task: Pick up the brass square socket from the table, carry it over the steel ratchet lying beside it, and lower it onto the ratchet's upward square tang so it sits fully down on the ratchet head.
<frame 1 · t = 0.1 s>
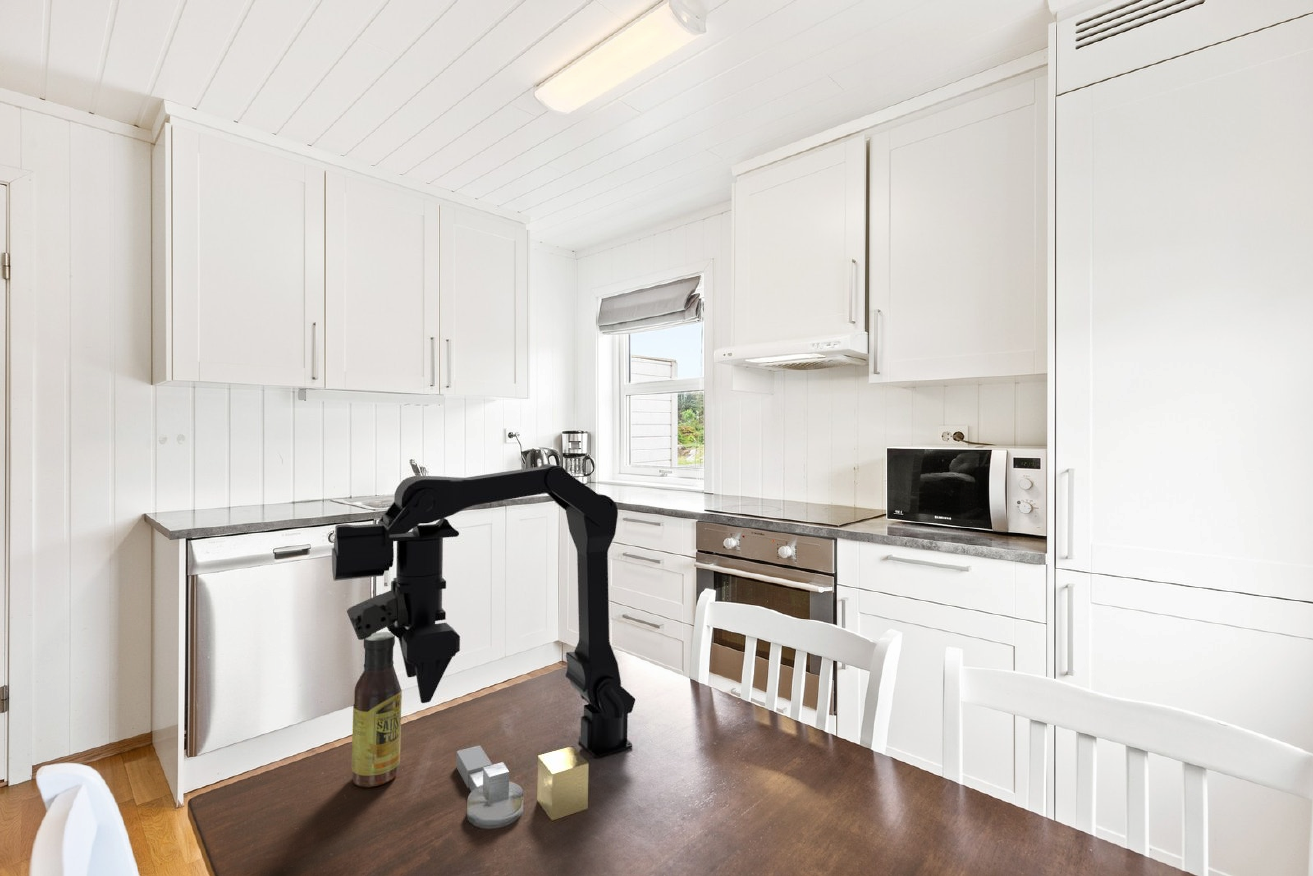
hand: (418, 688, 83), 15 cm above the table, tool pointing down, fingers open, 9 cm apart
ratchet: (495, 811, 81), on the table
socket: (562, 804, 83), on the table
sauce bottle: (376, 778, 88), on the table
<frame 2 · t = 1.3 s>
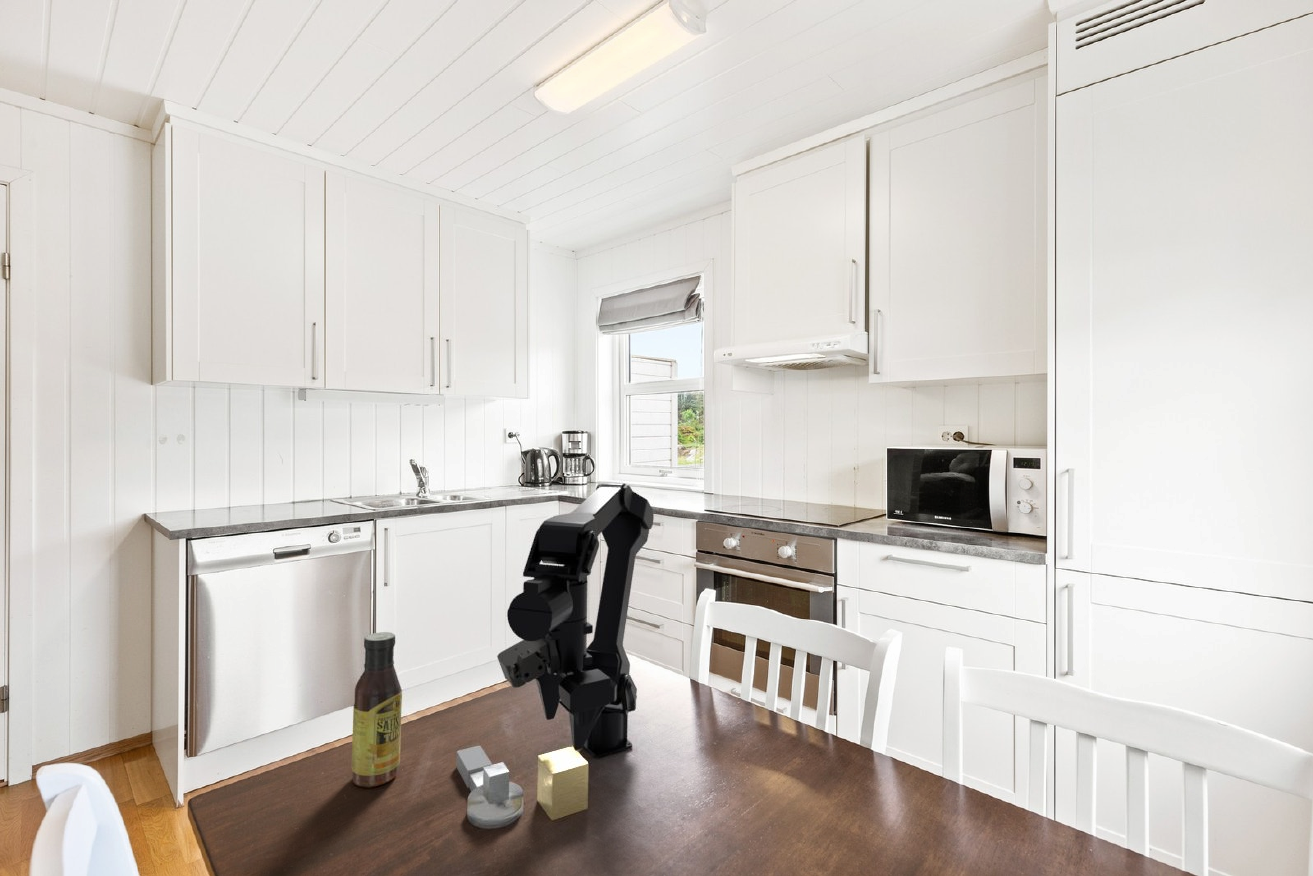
hand: (563, 733, 83), 9 cm above the table, tool pointing down, fingers open, 9 cm apart
nothing on the table moved.
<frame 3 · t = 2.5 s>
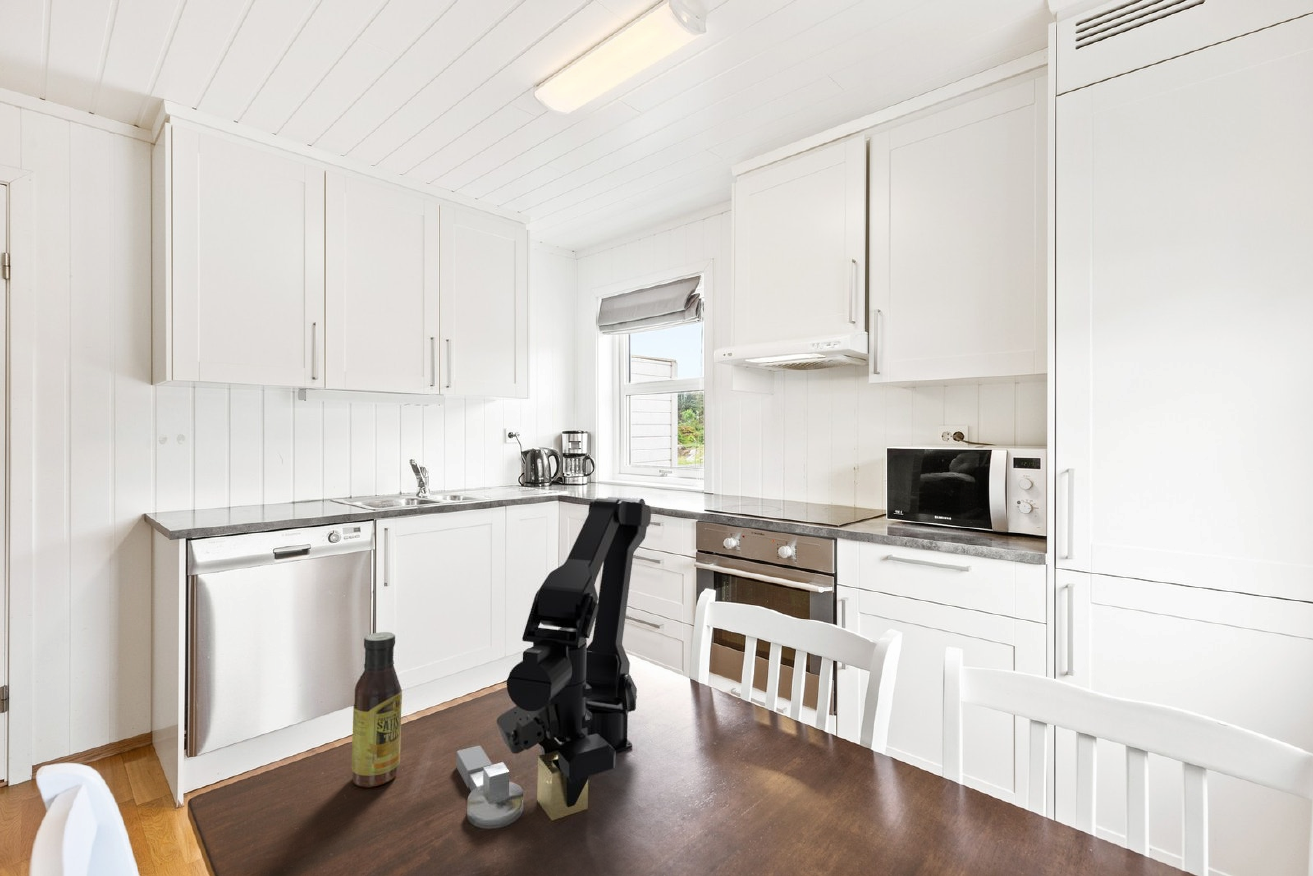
hand: (562, 795, 83), 1 cm above the table, tool pointing down, fingers closed on socket, 5 cm apart
socket: (562, 804, 83), on the table, touching gripper
everything else where it was.
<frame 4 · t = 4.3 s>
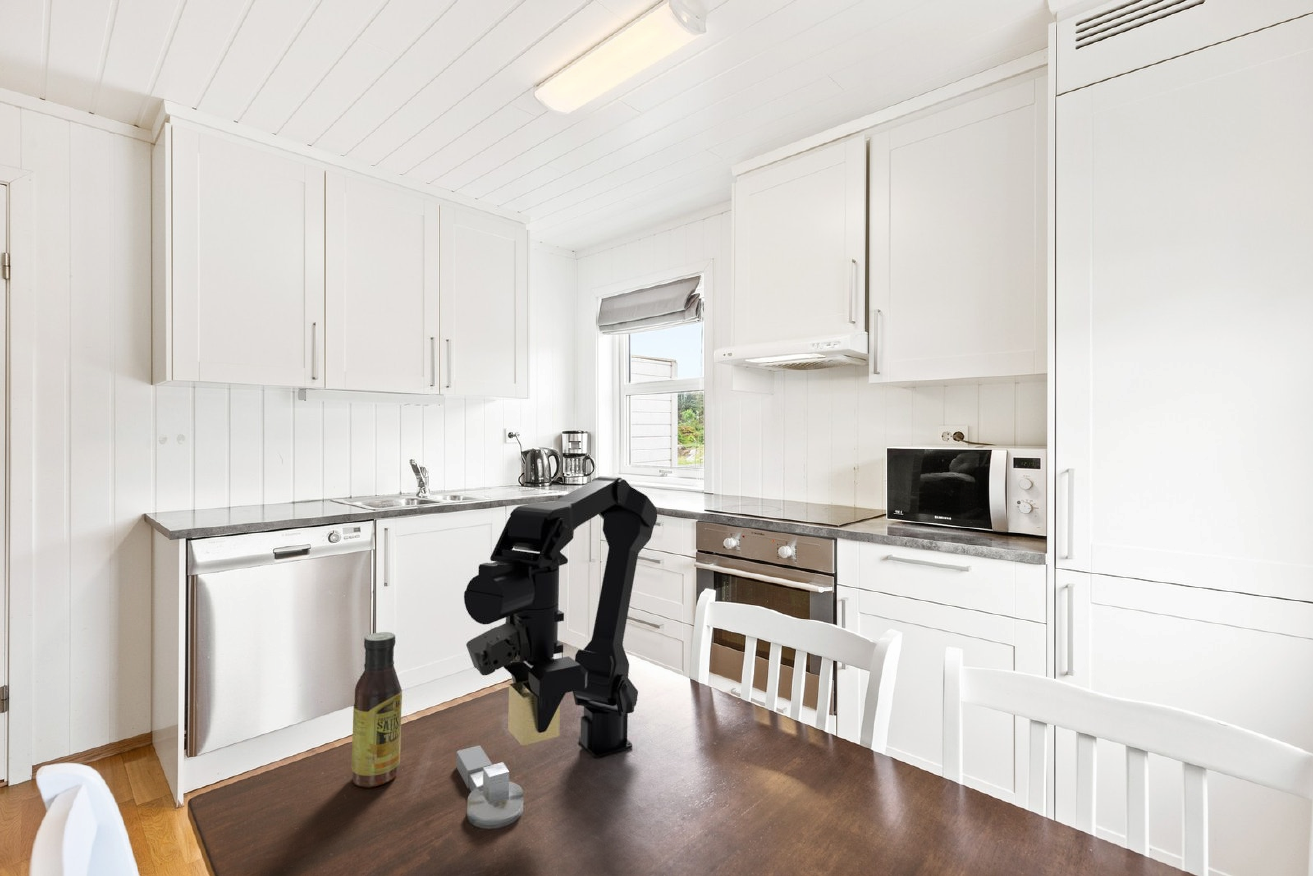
hand: (533, 723, 82), 11 cm above the table, tool pointing down, fingers closed on socket, 5 cm apart
socket: (533, 732, 82), point 10 cm above the table, touching gripper
everything else where it was.
when the fingers open (4 cm above the table, at t = 6.4 s): socket drops 1 cm, resting on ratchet.
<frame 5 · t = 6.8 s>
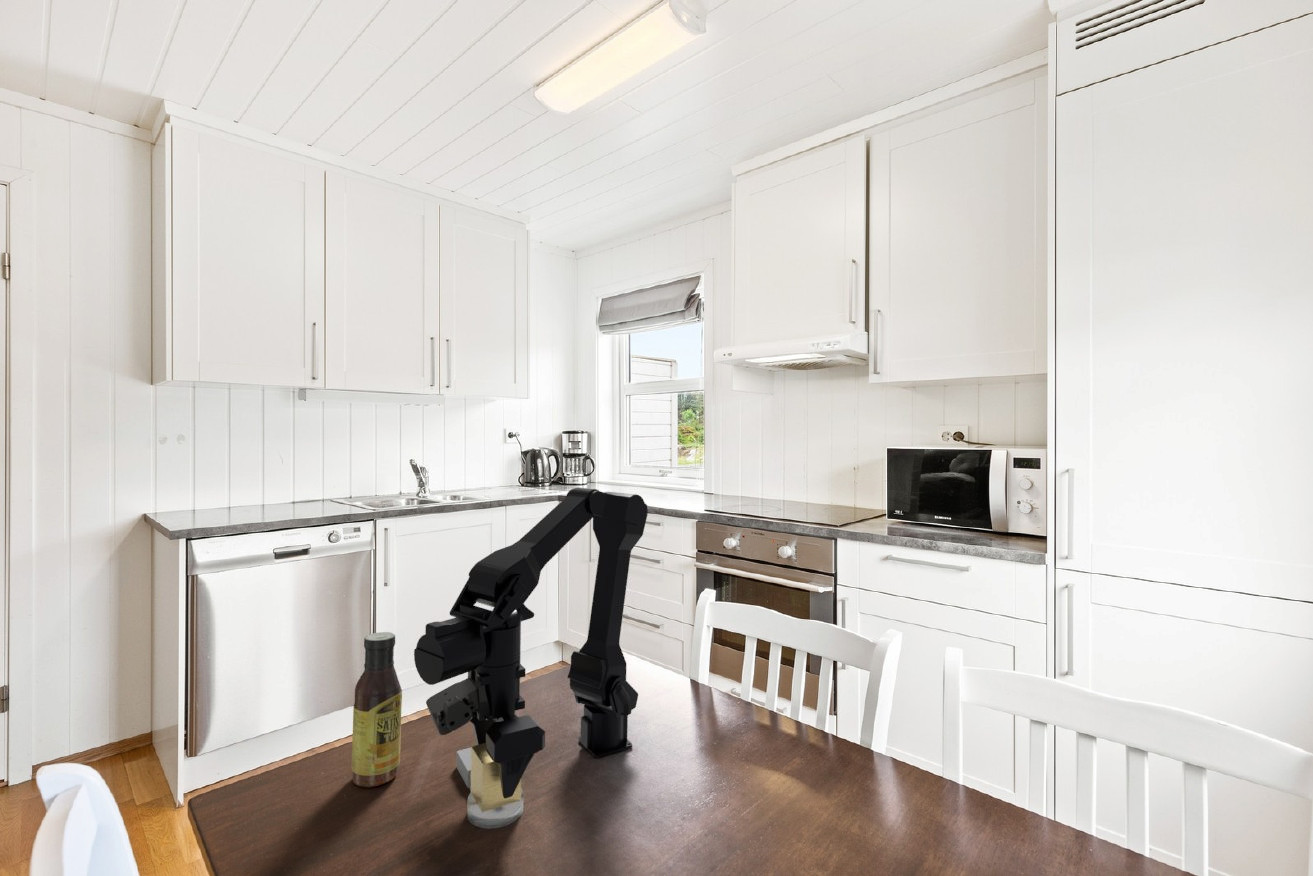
hand: (496, 778, 81), 4 cm above the table, tool pointing down, fingers open, 9 cm apart
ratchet: (495, 811, 81), on the table, touching socket
socket: (495, 796, 81), point 2 cm above the table, touching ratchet
everything else where it was.
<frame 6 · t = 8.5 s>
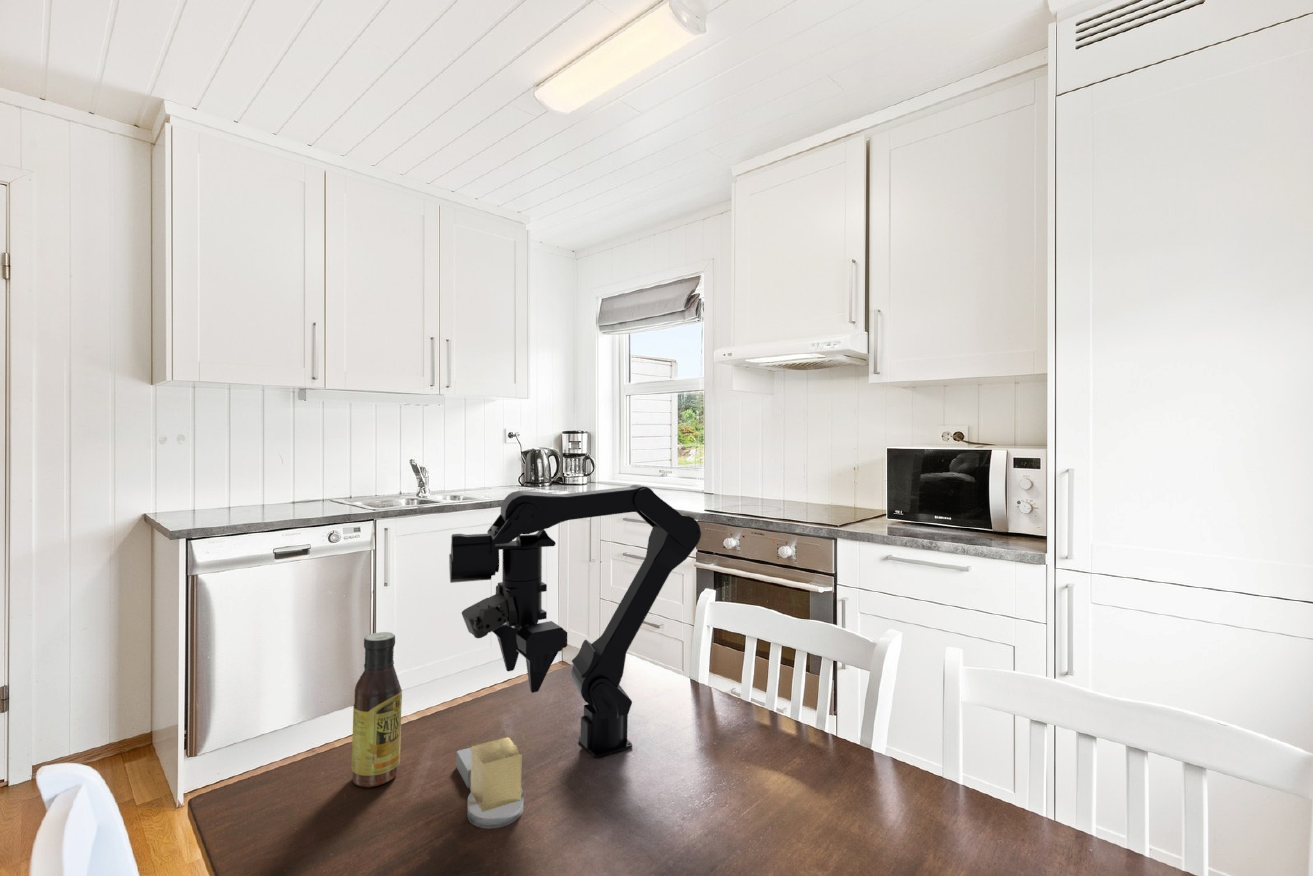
hand: (521, 681, 94), 12 cm above the table, tool pointing down, fingers open, 9 cm apart
nothing on the table moved.
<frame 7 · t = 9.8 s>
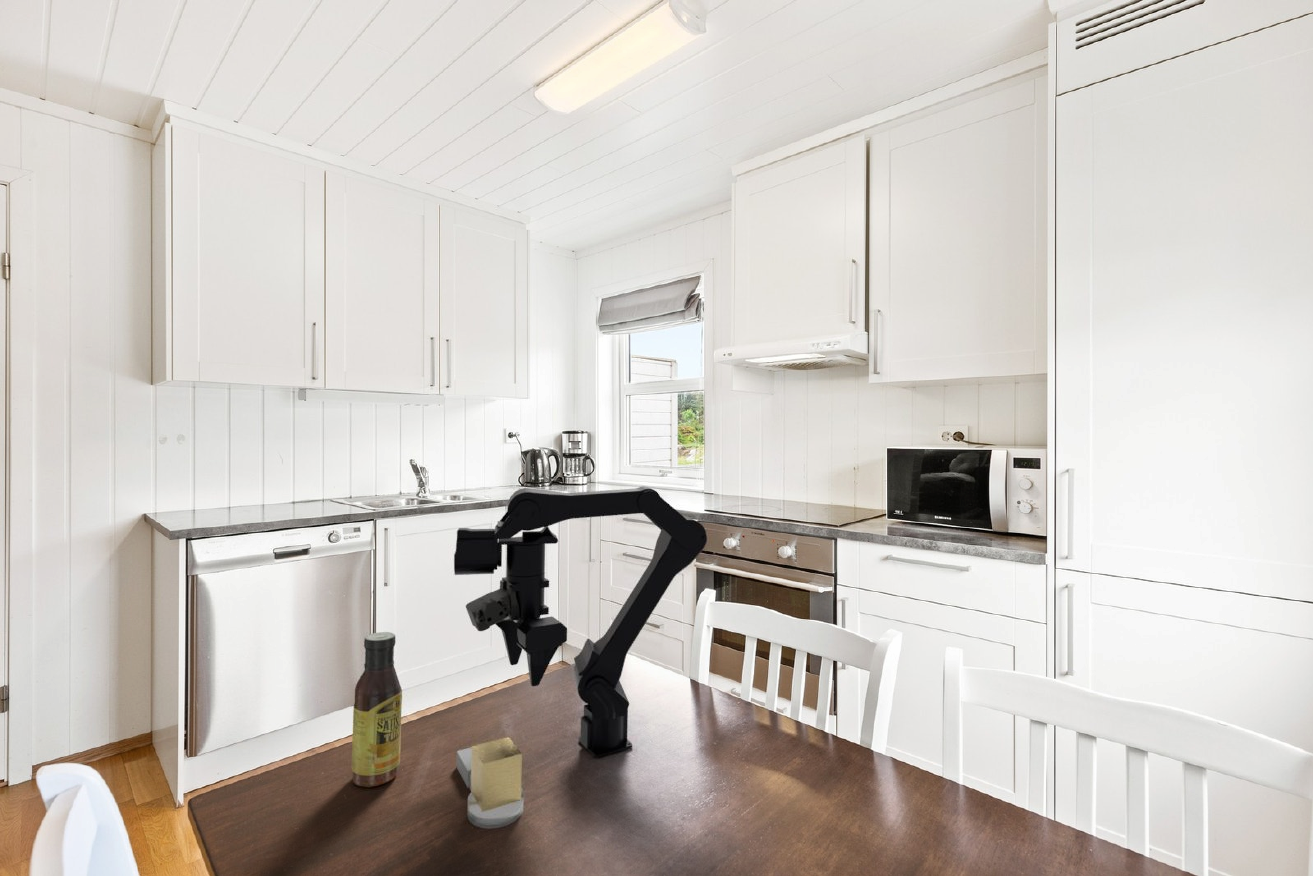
hand: (523, 674, 95), 12 cm above the table, tool pointing down, fingers open, 9 cm apart
nothing on the table moved.
at the end: socket 0.1 cm off-centre on the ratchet, point 2.0 cm above the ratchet's base; socket tilted 0°; the gripper is holding nothing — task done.
